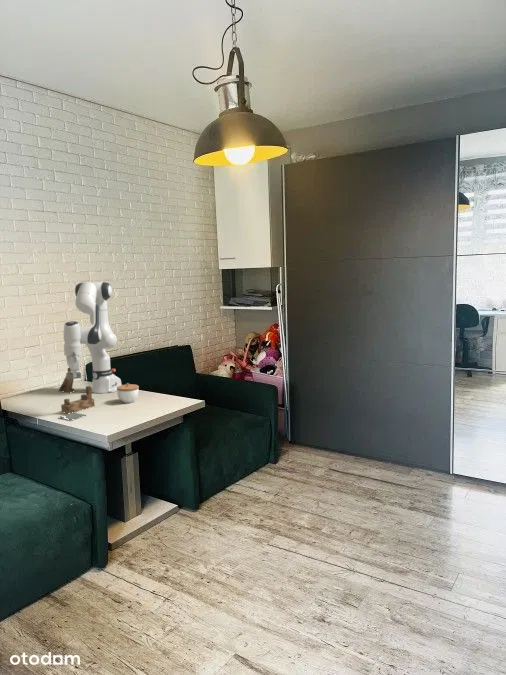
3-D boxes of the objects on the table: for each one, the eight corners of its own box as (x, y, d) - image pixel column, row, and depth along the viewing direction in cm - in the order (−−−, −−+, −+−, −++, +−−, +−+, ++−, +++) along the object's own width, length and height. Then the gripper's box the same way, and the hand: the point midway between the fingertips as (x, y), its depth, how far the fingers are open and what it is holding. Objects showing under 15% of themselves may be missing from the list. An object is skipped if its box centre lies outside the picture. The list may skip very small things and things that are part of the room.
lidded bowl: (123, 398, 304) (122, 380, 302) (142, 399, 301) (141, 381, 299) (113, 403, 291) (112, 385, 290) (133, 404, 289) (132, 386, 287)
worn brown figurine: (75, 395, 322) (78, 369, 318) (68, 397, 318) (71, 370, 314) (64, 389, 328) (66, 363, 324) (57, 391, 324) (59, 365, 320)
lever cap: (79, 376, 275) (79, 370, 275) (80, 378, 272) (80, 371, 271) (66, 377, 272) (66, 371, 272) (67, 379, 269) (67, 372, 268)
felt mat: (73, 413, 272) (73, 412, 272) (86, 416, 267) (86, 414, 267) (58, 418, 264) (58, 417, 264) (71, 420, 259) (70, 419, 259)
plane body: (87, 404, 289) (86, 385, 288) (94, 406, 286) (93, 386, 285) (61, 412, 274) (60, 392, 272) (69, 414, 271) (67, 393, 269)
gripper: (82, 353, 263) (82, 379, 264) (76, 348, 281) (76, 373, 282) (69, 354, 260) (70, 380, 261) (64, 349, 278) (65, 373, 279)
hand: (73, 376), depth 272 cm, fingers closed on lever cap, 4 cm apart
